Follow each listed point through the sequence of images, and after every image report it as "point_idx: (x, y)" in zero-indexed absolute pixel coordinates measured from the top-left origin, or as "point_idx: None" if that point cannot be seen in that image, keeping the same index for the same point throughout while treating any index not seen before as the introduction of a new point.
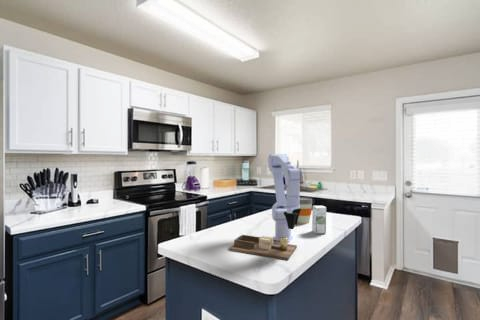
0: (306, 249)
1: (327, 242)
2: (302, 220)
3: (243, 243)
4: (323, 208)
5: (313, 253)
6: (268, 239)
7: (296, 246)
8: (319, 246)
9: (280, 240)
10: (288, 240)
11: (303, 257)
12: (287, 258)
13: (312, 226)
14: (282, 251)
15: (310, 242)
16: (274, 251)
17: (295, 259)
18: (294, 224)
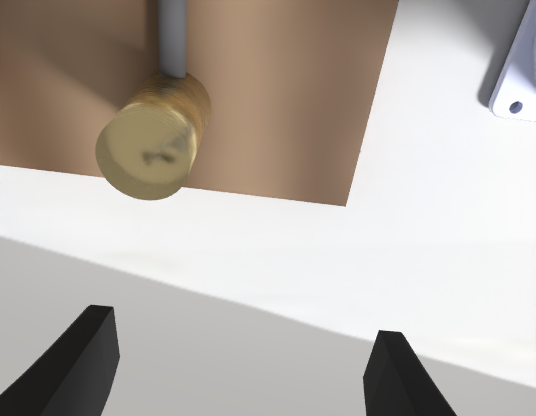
0: (317, 263)
1: (512, 376)
2: None
3: None
4: None
5: (244, 303)
6: None
7: (334, 201)
8: (410, 335)
9: (123, 108)
10: (524, 112)
11: (133, 250)
12: (1, 155)
13: None
14: (118, 99)
15: (505, 285)
16: (75, 15)
17: (61, 203)
18: (370, 360)
